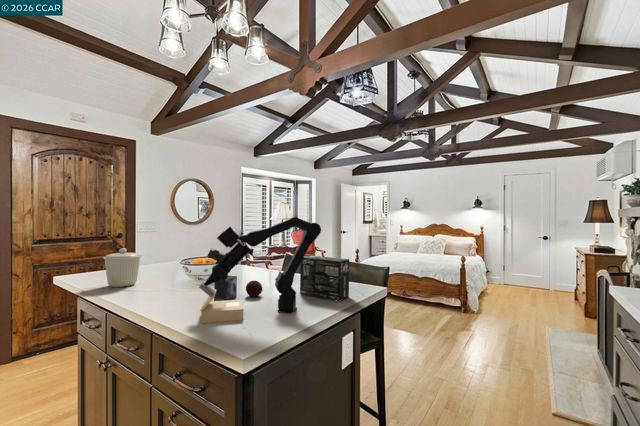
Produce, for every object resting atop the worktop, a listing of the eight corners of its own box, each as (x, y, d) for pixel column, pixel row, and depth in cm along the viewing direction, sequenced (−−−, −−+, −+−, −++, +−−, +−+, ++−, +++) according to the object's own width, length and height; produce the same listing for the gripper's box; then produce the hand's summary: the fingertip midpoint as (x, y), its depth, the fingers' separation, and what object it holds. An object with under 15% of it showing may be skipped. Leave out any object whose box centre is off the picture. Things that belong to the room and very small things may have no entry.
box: (349, 297, 147) (349, 258, 147) (339, 302, 139) (340, 260, 139) (310, 290, 159) (310, 255, 160) (299, 294, 151) (299, 257, 151)
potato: (248, 299, 142) (249, 283, 142) (243, 295, 150) (243, 279, 150) (265, 297, 146) (265, 281, 146) (258, 293, 154) (258, 278, 154)
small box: (226, 303, 136) (226, 279, 136) (213, 302, 137) (213, 279, 137) (237, 297, 146) (237, 275, 146) (225, 296, 147) (225, 274, 148)
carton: (242, 308, 127) (242, 299, 127) (243, 319, 114) (243, 308, 114) (205, 311, 123) (205, 301, 123) (201, 323, 110) (201, 311, 110)
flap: (216, 289, 124) (204, 279, 123) (214, 297, 112) (200, 286, 110) (204, 302, 123) (192, 291, 122) (201, 311, 110) (187, 300, 109)
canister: (145, 285, 170) (146, 248, 170) (107, 291, 157) (107, 250, 157) (135, 280, 182) (136, 246, 183) (99, 285, 169) (100, 248, 170)
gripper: (221, 240, 128) (192, 266, 125) (218, 243, 110) (185, 275, 107) (240, 258, 130) (212, 285, 126) (240, 264, 112) (208, 296, 108)
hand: (204, 285), depth 117 cm, fingers closed, pressing on flap
